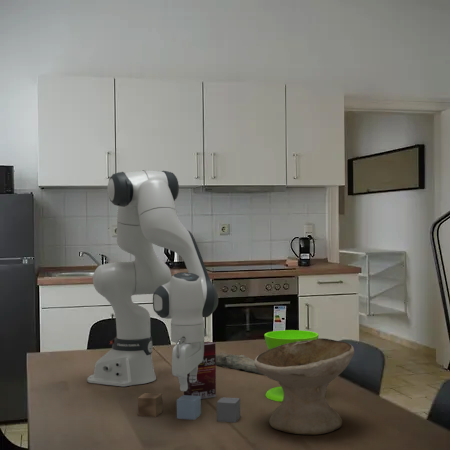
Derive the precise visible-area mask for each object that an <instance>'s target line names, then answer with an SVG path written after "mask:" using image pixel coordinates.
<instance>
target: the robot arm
mask: <svg viewBox="0 0 450 450" xmlns="http://www.w3.org/2000/svg"><path fill="white" fill-rule="evenodd" d="M178 180H179V179H178V177H177V176H176V175H175V173H173V172H171V171H167V170H161V171H160V170H149V169H148V170H147V169H145V170H135V171H126V172H124V171H119V172H115V173H113V174H112V175H111V176H110V177H109V180H108V183H107V190H106V191H107V195H108V199H109V201H110V202H111V204H113V205H114V206H117V215H116V217H117V219H116V243H117V244H116V245H117V246H118V247H119V249H121V250H122V251H124V252H126V253H127V254H130V255H132V256H134V260H133V261H120V262H119V261H117V262H114V261H113V262H108V263H104V264H101V265H98V266H97V267H96V269H95V270H94V272H93V276H92V284H93V287H94V289H95V290H96V292H97V293H98V294H100V296H102V297H103V298H105V300H107V301H108V303H109V304H110V305H111V307H112V310H113V312H114V316H115V324H116V325H115V328H116V336H115V337H114V338H113V339H112V340H109V342H110V343H109V345H111V349H110V350H108V351H107V352H106V353H104V355H103V356H101V357H100V358H99V359H98V360H97V361H96V362H95V364H94V365H95V366H94V370H93V371H94V372H93V374H90V375H89V376H88V377H87V379H86V382H87V383H89V384H98V385H107V386H116V387H128V386H135V385H143V384H147V383H152V382H154V381H156V380H157V376H156V372H155V368H154V363H153V356H152V353H153V337H152V336H151V313H150V312H149V311H148V310H147V309H146V308H144V307H143V306H140V305H139V304H136V303H134V302H133V300H132V299H133V298H132V296H137V295H139V296H140V295H152V307H153V311H154V312H155V314H156V315H157V316H158V317H159V318H161V319H167V320H169V319H171V322H170V341H171V342H172V343H175V345H173V348H172V354H171V373H172V376H173V377H177V379H178V383H179V390H180V392H184V391H187V390H188V383H187V374H189V373H190V376H189V382H190V383H195V382H196V381H197V371H198V365H199V364H200V363H201V362H202V361H203V356H204V342H205V338H206V336H207V329H206V327H205V319H204V318H208V317H210V316H211V315H212V314H213V313H214V312H215V311H216V309H217V308H218V306H219V295H218V292H217V289H216V287H215V285H214V283H213V281H212V280H211V278H210V276H209V273H208V271H207V267H206V265H205V263H204V260H203V257H202V254H201V252H200V249H199V246H198V243H197V242H196V239H195V237H194V235H193V233H192V232H191V231H190V230H189V229H187V228H186V227H185V226H184V225H183V223H182V222H181V220H180V218H179V215H178V211H177V208H176V207H177V206H176V204H175V201H176V200H177V198H178V196H179V193H180V192H179V191H180V190H179V188H180V186H179V185H180V184H179V181H178ZM153 245H155V246H156V247H161V248H163V249H164V248H165V249H167V250H169V251H171V252H173V253H176V254H177V255H179V256H180V257H181V258H182V259H183V261H184V262H183V263H184V265H185V267H186V269H187V271H186V272H177V273H174V274H173V275H172V272H171V269H170V267H169V265H167V264H166V263H165V262H164V261H162V259H160V258H159V257H158V255H157V253H156V252H155V250H154V246H153Z"/></svg>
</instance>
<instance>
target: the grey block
mask: <svg viewBox="0 0 450 450" xmlns="http://www.w3.org/2000/svg"><path fill="white" fill-rule="evenodd" d="M240 418H241V398H240V397H222V396H221V398H219V399H218V400H217V402H216V421H217V422H224V423H237V422H238V421H239V420H240Z"/></svg>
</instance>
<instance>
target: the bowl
mask: <svg viewBox="0 0 450 450" xmlns="http://www.w3.org/2000/svg"><path fill="white" fill-rule="evenodd" d="M354 355H355V348H354V346H353V345H352V344H351V343H348V342H346V341H340V340H335V339H331V338H330V339H329V338H321V337H320V338H319V337H318V339H316V340H310V341H309V340H305V341H298V342H292V343H287V344H283V345H280V346H277V347H275V348H272V349H267V350H265V351H262V352H261V353H259V354H258V355H257V356H256V357H255V359H254V360H255V361H254V364H255V367H256V368H257V370H258V371H259V372H261V373H263V374H264V375H263V376H265V377H267V378H269V380H273V381H276V382H277V383H278V384H279V385H280V386H281V387H282V389H283V392H284V398H283V401H282V402H280V404H279V406H277V407H276V408H275V409H274V410H273V411H272V414H271V415H270V418H269V425H270V427H271V428H273V429H275V430H278V431H281V432H283V433H289V434H295V435H306V436H307V435H309V436H311V435H313V436H314V435H323V434H328V433H332V432H334V431H336V430H338V429H340V428H341V427H342V425H343V420H342V418H341V416H340V414H339V413H338V411H337V410H336V409H334V408H333V407H332V406H331V405H330V403H328V401H327V399H326V393H327V388H328V387H329V384H330V383H331V382H332V381H333V380H335V379H336V378H337V377H339V376H340V375H341V374H342V373H343V372H344V371H345V370H346V369H347V367H348V366H349V364H350V363H351V360H352V359H353V357H354Z"/></svg>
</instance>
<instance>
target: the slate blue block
mask: <svg viewBox="0 0 450 450" xmlns="http://www.w3.org/2000/svg"><path fill="white" fill-rule="evenodd" d="M201 401H202V399H201V396H191V395H184V394H183V395H181V396H180V397H179V398H177V399H176V419H177V420H179V419H180V420H192V421H193V420H197V418H199V417H200V416H201V415H202V405H201V403H202V402H201Z"/></svg>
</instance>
